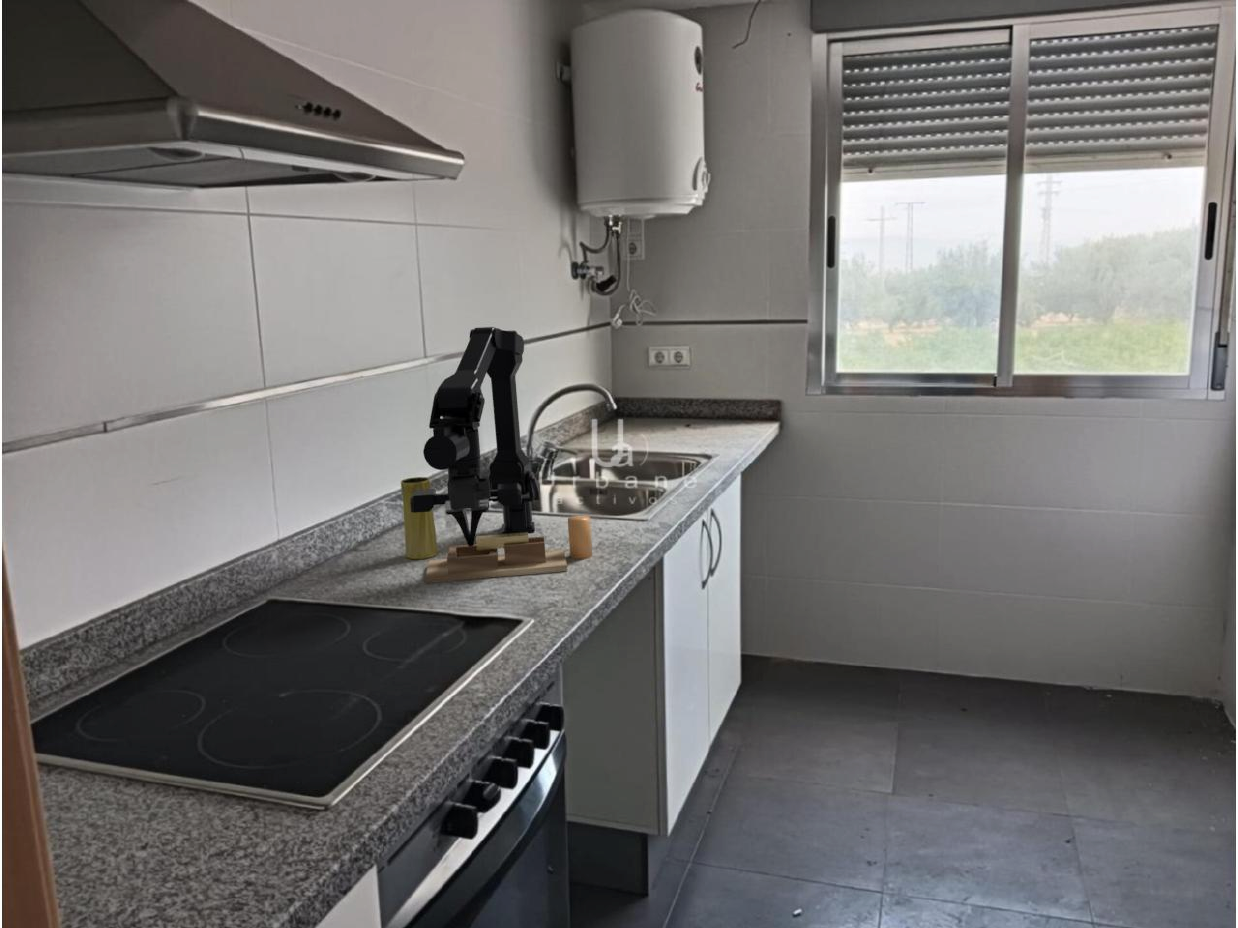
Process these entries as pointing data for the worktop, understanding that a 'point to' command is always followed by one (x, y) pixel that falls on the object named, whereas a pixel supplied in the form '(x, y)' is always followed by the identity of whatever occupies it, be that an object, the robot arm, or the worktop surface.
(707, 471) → the worktop surface
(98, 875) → the worktop surface
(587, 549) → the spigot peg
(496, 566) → the dock board
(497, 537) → the bar
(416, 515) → the vase
